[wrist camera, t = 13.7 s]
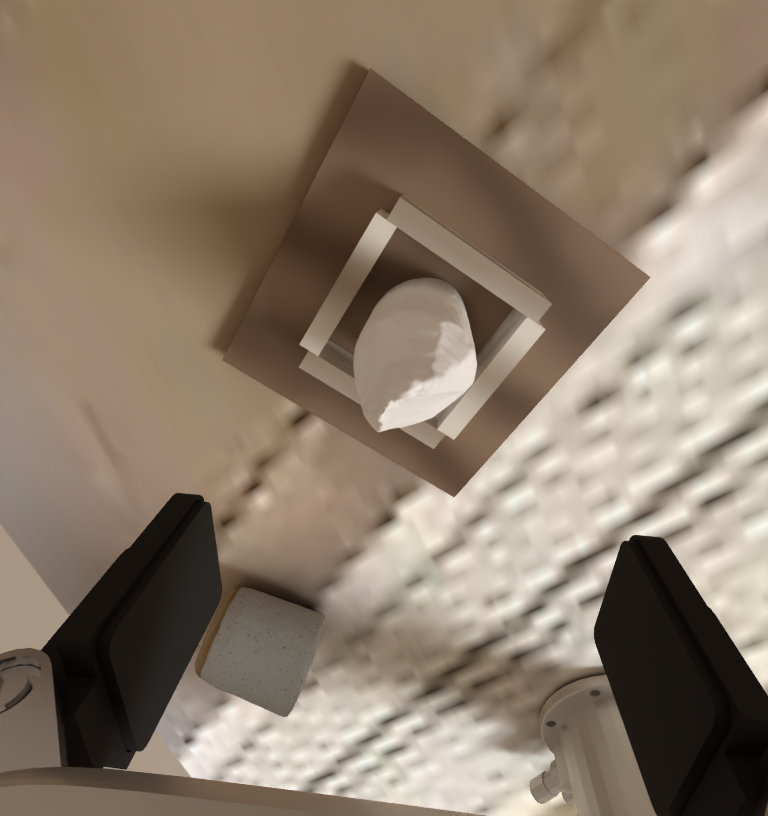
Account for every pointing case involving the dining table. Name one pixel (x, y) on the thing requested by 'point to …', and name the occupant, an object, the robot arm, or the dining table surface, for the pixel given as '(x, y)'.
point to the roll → (414, 354)
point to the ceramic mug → (260, 649)
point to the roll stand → (427, 258)
